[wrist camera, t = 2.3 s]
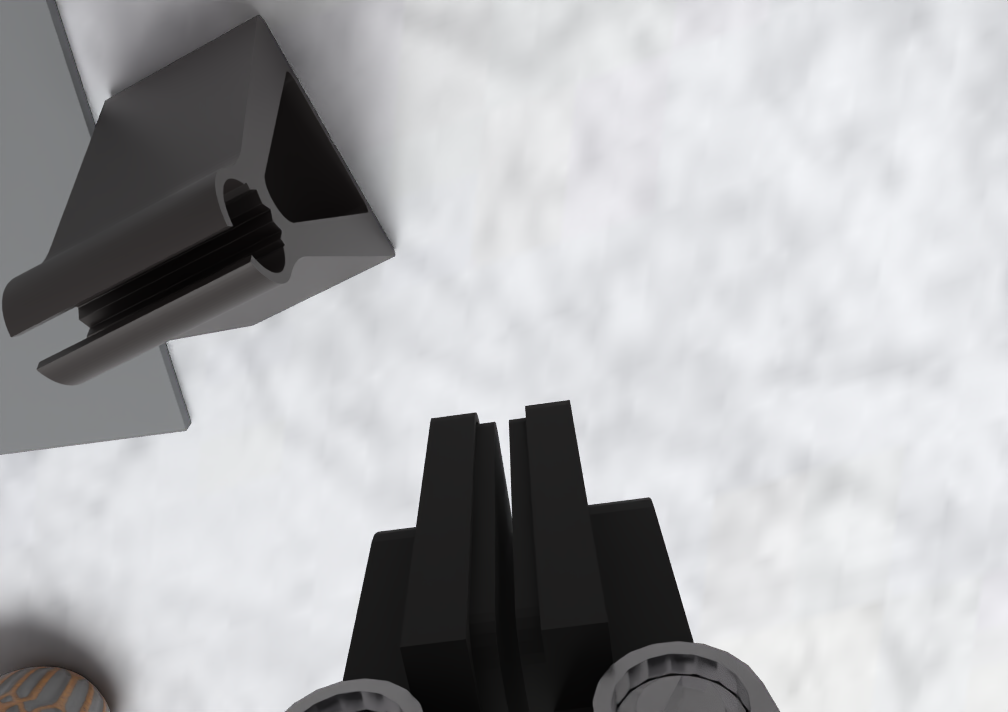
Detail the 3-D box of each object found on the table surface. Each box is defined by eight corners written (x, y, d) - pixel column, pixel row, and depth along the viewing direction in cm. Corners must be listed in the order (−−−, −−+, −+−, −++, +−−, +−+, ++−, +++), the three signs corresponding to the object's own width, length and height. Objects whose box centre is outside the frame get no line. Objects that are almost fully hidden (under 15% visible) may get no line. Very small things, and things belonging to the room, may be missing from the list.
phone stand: (109, 97, 30) (-112, 180, 19) (262, 13, 29) (119, 52, 18) (254, 321, 34) (136, 501, 23) (396, 253, 33) (343, 407, 22)
